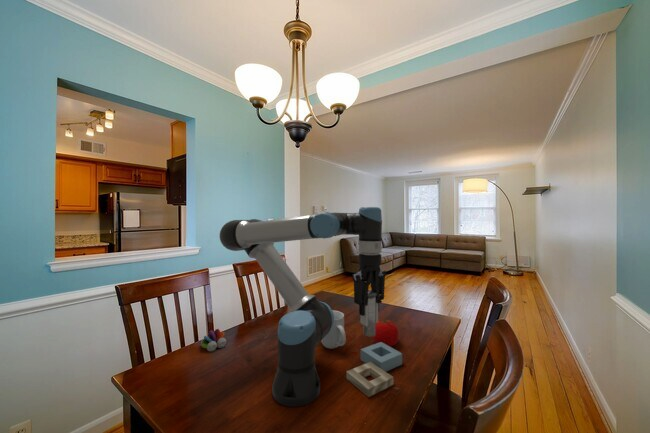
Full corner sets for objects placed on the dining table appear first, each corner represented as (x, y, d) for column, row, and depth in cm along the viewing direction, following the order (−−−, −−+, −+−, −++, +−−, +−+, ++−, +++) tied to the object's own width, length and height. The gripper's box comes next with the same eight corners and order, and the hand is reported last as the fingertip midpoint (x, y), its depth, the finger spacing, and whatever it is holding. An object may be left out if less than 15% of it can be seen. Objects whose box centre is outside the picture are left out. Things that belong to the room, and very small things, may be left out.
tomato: (394, 354, 107) (394, 328, 107) (367, 346, 112) (367, 322, 112) (401, 341, 117) (401, 318, 117) (376, 335, 123) (376, 313, 123)
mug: (355, 350, 109) (355, 319, 109) (333, 358, 103) (333, 325, 103) (334, 336, 122) (334, 308, 122) (313, 343, 116) (313, 313, 115)
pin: (368, 338, 86) (369, 294, 86) (359, 332, 90) (359, 291, 89) (379, 334, 88) (379, 292, 88) (369, 329, 92) (370, 289, 92)
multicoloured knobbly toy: (229, 346, 113) (229, 329, 112) (206, 355, 105) (206, 337, 105) (220, 340, 118) (220, 323, 118) (197, 348, 111) (197, 330, 111)
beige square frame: (368, 397, 81) (368, 389, 81) (346, 378, 91) (346, 371, 91) (393, 384, 87) (393, 377, 87) (370, 368, 97) (370, 361, 97)
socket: (381, 373, 93) (381, 362, 93) (360, 359, 103) (360, 349, 103) (402, 364, 100) (402, 353, 99) (380, 351, 109) (380, 341, 109)
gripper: (357, 256, 81) (357, 333, 81) (396, 252, 90) (395, 321, 91) (342, 253, 87) (342, 324, 87) (380, 250, 97) (379, 314, 97)
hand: (369, 322), depth 89 cm, fingers closed on pin, 4 cm apart
